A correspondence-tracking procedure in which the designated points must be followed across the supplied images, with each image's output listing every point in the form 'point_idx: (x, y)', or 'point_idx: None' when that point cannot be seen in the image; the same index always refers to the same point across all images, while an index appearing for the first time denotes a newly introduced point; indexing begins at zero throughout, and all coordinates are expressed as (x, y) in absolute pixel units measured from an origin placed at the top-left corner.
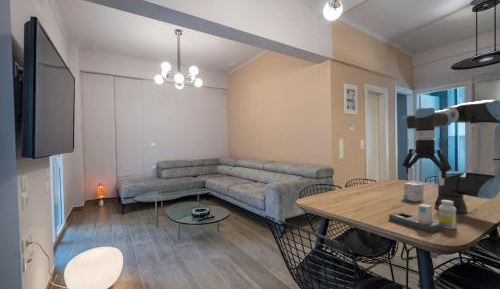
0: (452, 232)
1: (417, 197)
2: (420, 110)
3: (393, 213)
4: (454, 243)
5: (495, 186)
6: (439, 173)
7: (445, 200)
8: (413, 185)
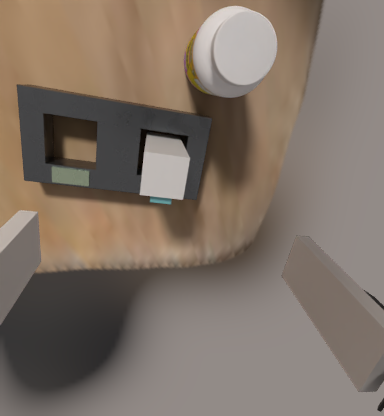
0: (237, 125)
1: None
2: None
3: (22, 148)
4: (256, 219)
5: None
6: (344, 364)
7: (235, 40)
8: None
